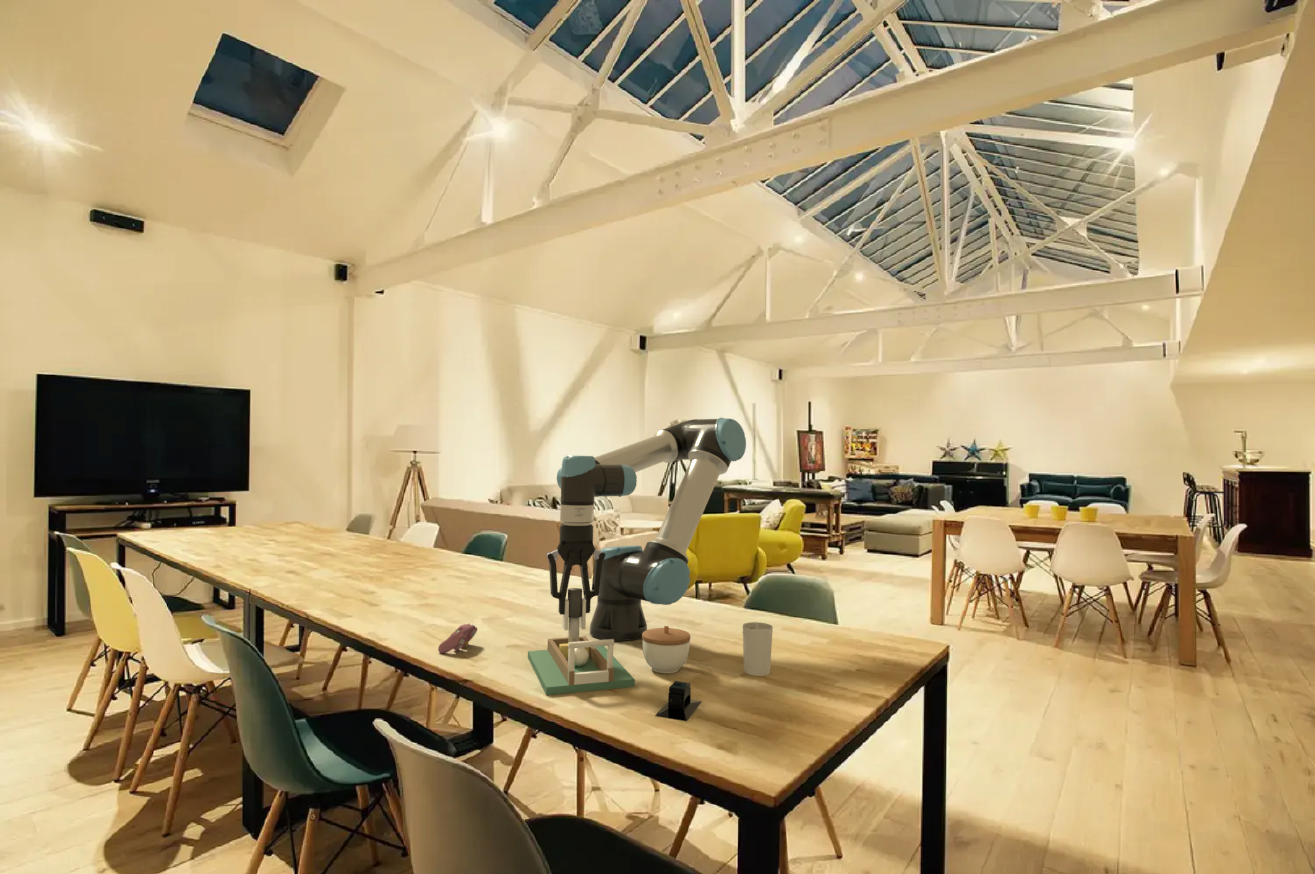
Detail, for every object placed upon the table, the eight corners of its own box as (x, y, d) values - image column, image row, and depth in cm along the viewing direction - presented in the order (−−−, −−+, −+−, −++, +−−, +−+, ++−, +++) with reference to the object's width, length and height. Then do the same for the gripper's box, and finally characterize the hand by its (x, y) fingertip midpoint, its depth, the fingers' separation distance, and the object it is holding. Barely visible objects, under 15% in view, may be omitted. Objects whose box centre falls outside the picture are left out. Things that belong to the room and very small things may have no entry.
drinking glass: (753, 678, 140) (754, 631, 140) (735, 669, 146) (736, 623, 146) (778, 674, 143) (779, 628, 144) (760, 665, 149) (760, 621, 149)
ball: (585, 662, 144) (586, 643, 144) (590, 667, 140) (590, 648, 140) (567, 663, 142) (568, 645, 142) (571, 669, 138) (572, 650, 139)
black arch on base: (671, 696, 130) (671, 671, 130) (709, 702, 127) (709, 676, 127) (648, 721, 117) (649, 693, 117) (689, 728, 115) (690, 699, 115)
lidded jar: (695, 665, 148) (696, 623, 149) (681, 679, 138) (682, 634, 138) (650, 659, 152) (651, 618, 152) (634, 673, 142) (635, 629, 142)
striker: (585, 653, 149) (587, 587, 150) (588, 657, 146) (590, 590, 147) (557, 655, 147) (559, 588, 148) (560, 659, 144) (562, 591, 145)
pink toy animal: (450, 661, 152) (464, 635, 151) (435, 651, 152) (448, 625, 152) (471, 649, 161) (483, 625, 161) (456, 640, 162) (468, 615, 162)
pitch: (603, 651, 157) (604, 611, 157) (634, 686, 133) (635, 638, 133) (527, 657, 151) (529, 615, 151) (546, 695, 127) (547, 645, 128)
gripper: (543, 525, 142) (540, 634, 141) (615, 524, 147) (613, 630, 146) (538, 522, 149) (535, 626, 148) (607, 521, 154) (605, 622, 153)
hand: (573, 628), depth 147 cm, fingers closed on striker, 3 cm apart
